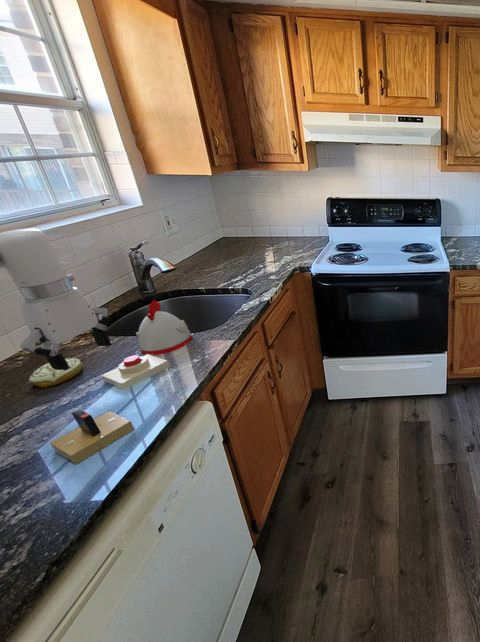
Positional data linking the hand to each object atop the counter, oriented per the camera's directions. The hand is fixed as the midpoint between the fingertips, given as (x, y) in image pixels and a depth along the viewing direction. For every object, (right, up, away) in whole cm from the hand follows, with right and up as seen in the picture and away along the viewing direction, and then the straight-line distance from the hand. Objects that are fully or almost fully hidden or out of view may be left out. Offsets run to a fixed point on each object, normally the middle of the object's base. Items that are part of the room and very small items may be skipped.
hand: (84, 356), depth 84 cm
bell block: (-6, -8, +22) cm, 24 cm away
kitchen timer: (-10, -1, +37) cm, 39 cm away
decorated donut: (-29, -9, +22) cm, 37 cm away
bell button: (-7, -5, +20) cm, 22 cm away
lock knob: (+4, -16, -2) cm, 17 cm away
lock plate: (+4, -19, -1) cm, 19 cm away
